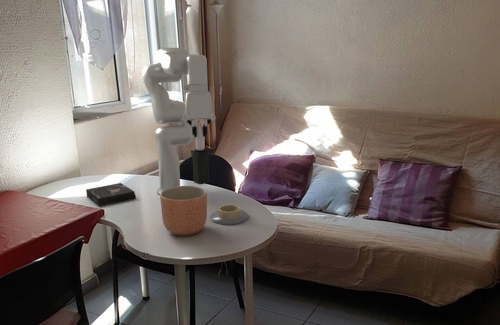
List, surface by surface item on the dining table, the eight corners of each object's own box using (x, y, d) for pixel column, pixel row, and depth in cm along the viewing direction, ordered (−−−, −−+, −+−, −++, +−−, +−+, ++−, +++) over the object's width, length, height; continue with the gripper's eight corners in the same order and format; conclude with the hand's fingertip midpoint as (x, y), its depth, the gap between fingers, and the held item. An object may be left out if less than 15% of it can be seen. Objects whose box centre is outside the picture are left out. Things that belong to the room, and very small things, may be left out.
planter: (168, 243, 157) (166, 203, 153) (158, 226, 172) (155, 189, 168) (214, 235, 163) (213, 196, 159) (200, 219, 178) (199, 183, 174)
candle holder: (208, 212, 185) (207, 203, 184) (243, 209, 188) (243, 200, 187) (213, 226, 171) (213, 216, 170) (251, 222, 174) (251, 213, 173)
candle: (202, 179, 181) (200, 118, 174) (210, 182, 177) (208, 119, 171) (192, 182, 177) (189, 119, 171) (200, 184, 174) (197, 121, 167)
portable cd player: (136, 199, 203) (135, 191, 202) (98, 207, 194) (98, 198, 193) (122, 190, 216) (121, 182, 215) (87, 197, 206) (86, 189, 205)
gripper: (176, 90, 163) (179, 139, 167) (220, 88, 166) (221, 137, 171) (175, 88, 170) (178, 135, 175) (217, 87, 173) (219, 133, 178)
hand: (199, 135), depth 173 cm, fingers closed on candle, 2 cm apart
